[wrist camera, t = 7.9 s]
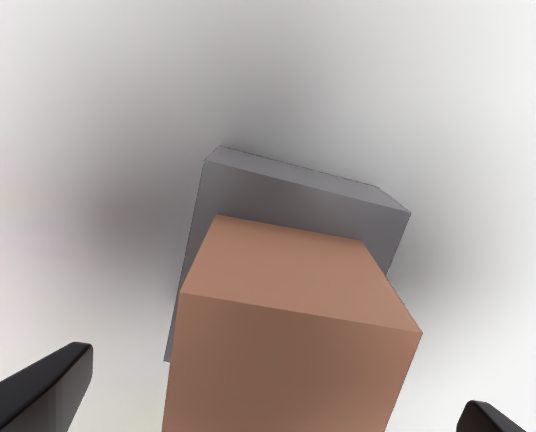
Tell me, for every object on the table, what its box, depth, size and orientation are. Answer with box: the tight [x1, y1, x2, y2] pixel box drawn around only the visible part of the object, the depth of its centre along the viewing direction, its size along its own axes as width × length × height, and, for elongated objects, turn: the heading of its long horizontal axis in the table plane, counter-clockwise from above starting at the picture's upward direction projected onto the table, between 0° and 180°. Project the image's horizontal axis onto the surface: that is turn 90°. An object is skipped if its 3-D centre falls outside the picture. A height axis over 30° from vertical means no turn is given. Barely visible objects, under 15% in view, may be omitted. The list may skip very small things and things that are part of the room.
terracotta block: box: [162, 214, 423, 432], centre depth 10 cm, size 5×5×5 cm
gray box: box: [164, 146, 411, 362], centre depth 14 cm, size 8×7×4 cm
